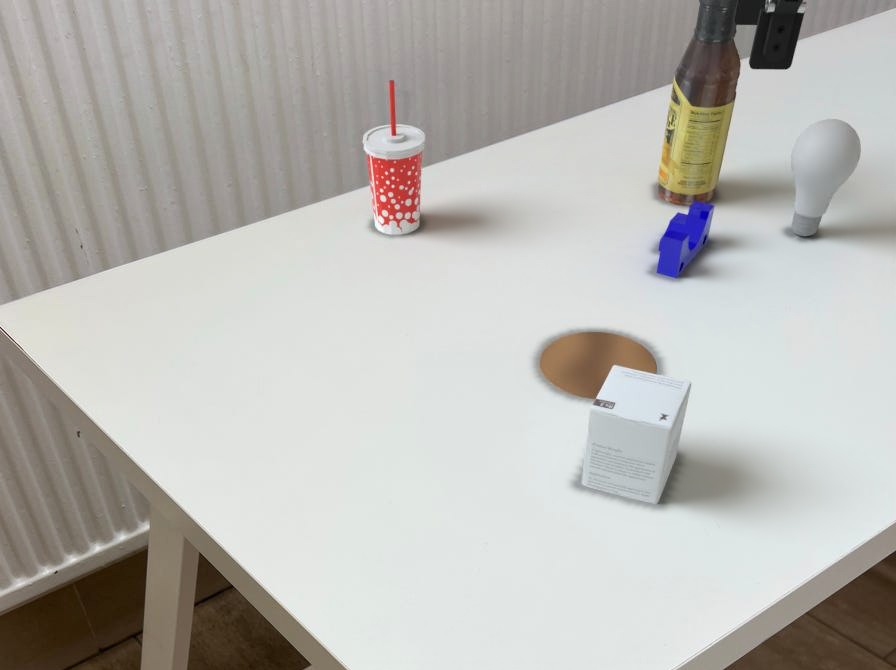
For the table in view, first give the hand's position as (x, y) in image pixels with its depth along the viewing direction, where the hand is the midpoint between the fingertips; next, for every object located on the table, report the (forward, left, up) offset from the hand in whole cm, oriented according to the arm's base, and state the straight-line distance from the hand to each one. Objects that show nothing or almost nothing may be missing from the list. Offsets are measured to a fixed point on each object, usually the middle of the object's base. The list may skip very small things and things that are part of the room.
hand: (760, 45), depth 79 cm
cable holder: (+3, -2, -20) cm, 20 cm away
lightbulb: (-10, -7, -20) cm, 23 cm away
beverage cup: (+31, -7, -20) cm, 38 cm away
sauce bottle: (+1, -15, -20) cm, 24 cm away
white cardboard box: (+9, +31, -20) cm, 38 cm away
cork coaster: (+11, +17, -19) cm, 28 cm away
